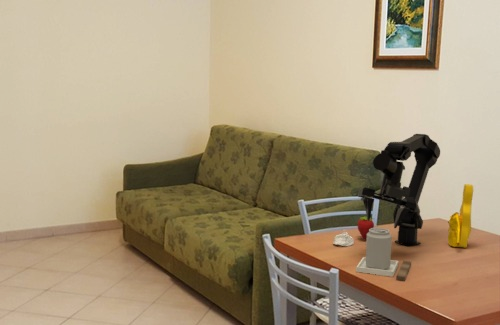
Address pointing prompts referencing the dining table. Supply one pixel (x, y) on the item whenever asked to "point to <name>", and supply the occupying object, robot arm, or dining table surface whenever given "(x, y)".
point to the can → (378, 248)
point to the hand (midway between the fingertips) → (381, 224)
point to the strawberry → (364, 226)
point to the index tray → (388, 272)
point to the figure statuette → (461, 221)
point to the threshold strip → (403, 270)
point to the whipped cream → (343, 239)
